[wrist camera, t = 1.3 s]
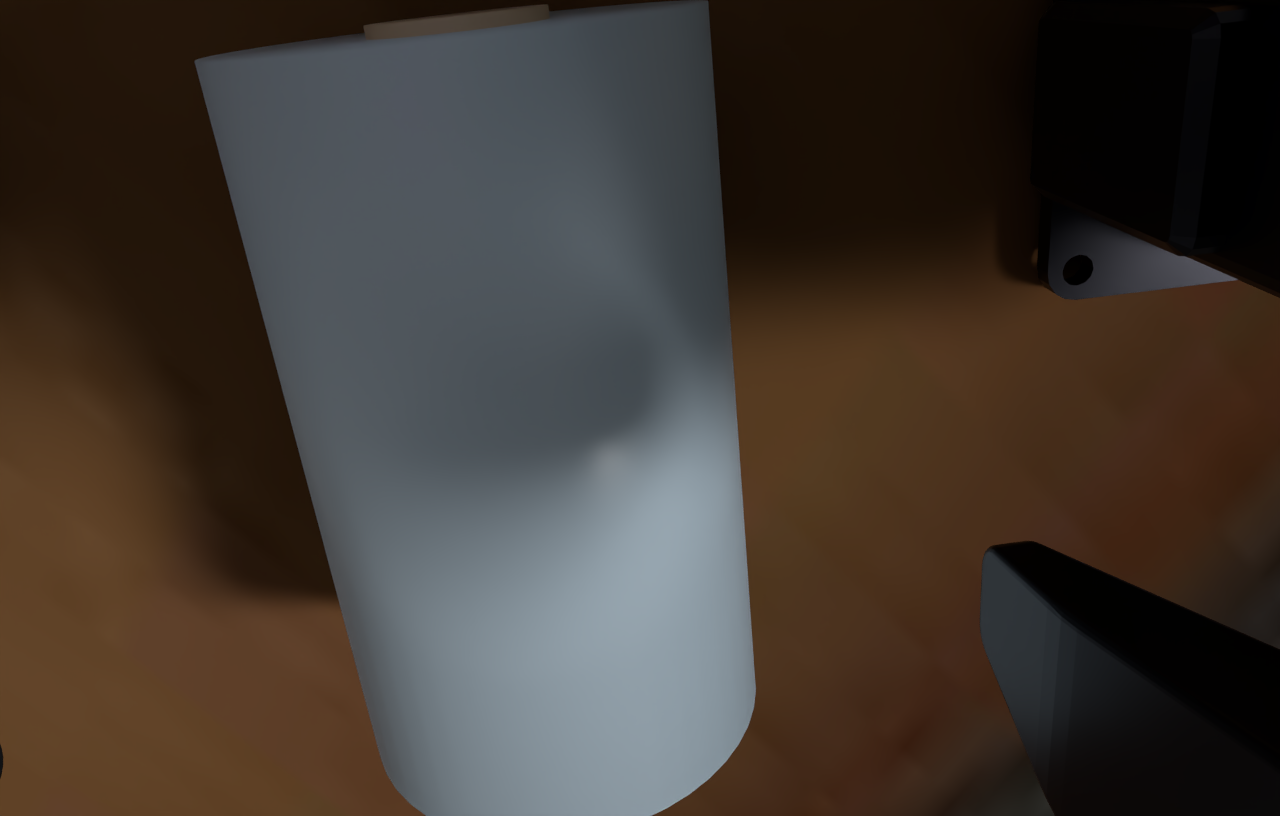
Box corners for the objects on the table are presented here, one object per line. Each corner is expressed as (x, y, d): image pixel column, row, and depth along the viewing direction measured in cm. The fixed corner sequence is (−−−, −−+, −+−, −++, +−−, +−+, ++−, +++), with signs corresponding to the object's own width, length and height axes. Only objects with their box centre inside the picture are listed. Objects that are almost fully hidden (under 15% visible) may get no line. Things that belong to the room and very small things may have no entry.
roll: (253, 33, 14) (111, 62, 9) (662, -13, 15) (765, -14, 9) (396, 622, 18) (358, 889, 13) (712, 569, 19) (804, 803, 14)
